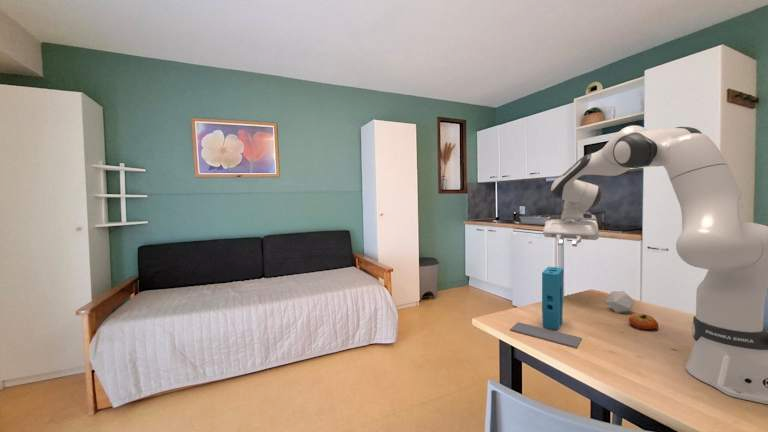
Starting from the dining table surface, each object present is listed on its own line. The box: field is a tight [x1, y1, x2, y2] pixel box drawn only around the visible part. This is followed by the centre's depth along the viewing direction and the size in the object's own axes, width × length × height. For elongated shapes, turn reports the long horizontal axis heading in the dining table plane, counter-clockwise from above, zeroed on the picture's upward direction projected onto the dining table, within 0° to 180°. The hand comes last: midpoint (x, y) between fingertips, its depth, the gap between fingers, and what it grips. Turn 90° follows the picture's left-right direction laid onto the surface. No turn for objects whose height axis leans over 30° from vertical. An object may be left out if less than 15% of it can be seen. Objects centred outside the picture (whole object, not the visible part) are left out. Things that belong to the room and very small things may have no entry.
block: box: [541, 266, 564, 331], centre depth 110 cm, size 12×5×20 cm, turn 141°
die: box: [605, 290, 636, 314], centre depth 122 cm, size 8×9×10 cm
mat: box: [509, 321, 583, 349], centre depth 102 cm, size 20×8×1 cm, turn 48°
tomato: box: [628, 313, 659, 331], centre depth 107 cm, size 8×7×7 cm
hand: (567, 245), depth 125 cm, fingers open, 4 cm apart
